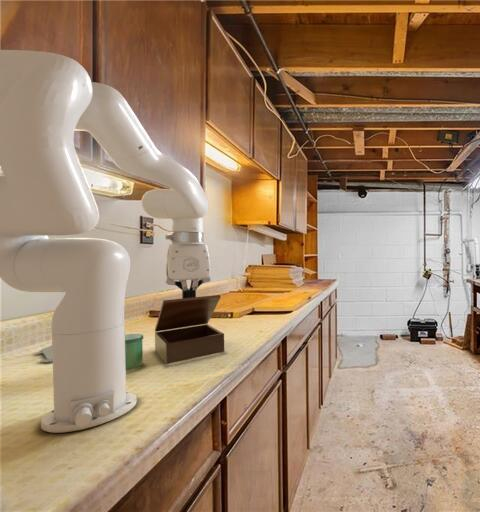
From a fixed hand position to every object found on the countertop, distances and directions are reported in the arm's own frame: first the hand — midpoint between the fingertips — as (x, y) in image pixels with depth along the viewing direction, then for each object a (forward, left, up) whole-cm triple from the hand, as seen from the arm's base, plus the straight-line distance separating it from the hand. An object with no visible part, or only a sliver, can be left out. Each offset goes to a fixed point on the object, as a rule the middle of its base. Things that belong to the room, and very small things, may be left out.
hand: (189, 304), depth 88 cm
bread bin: (0, 0, -14) cm, 14 cm away
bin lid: (+1, 0, -3) cm, 4 cm away
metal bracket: (+25, +23, -14) cm, 37 cm away
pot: (-2, +14, -14) cm, 20 cm away
